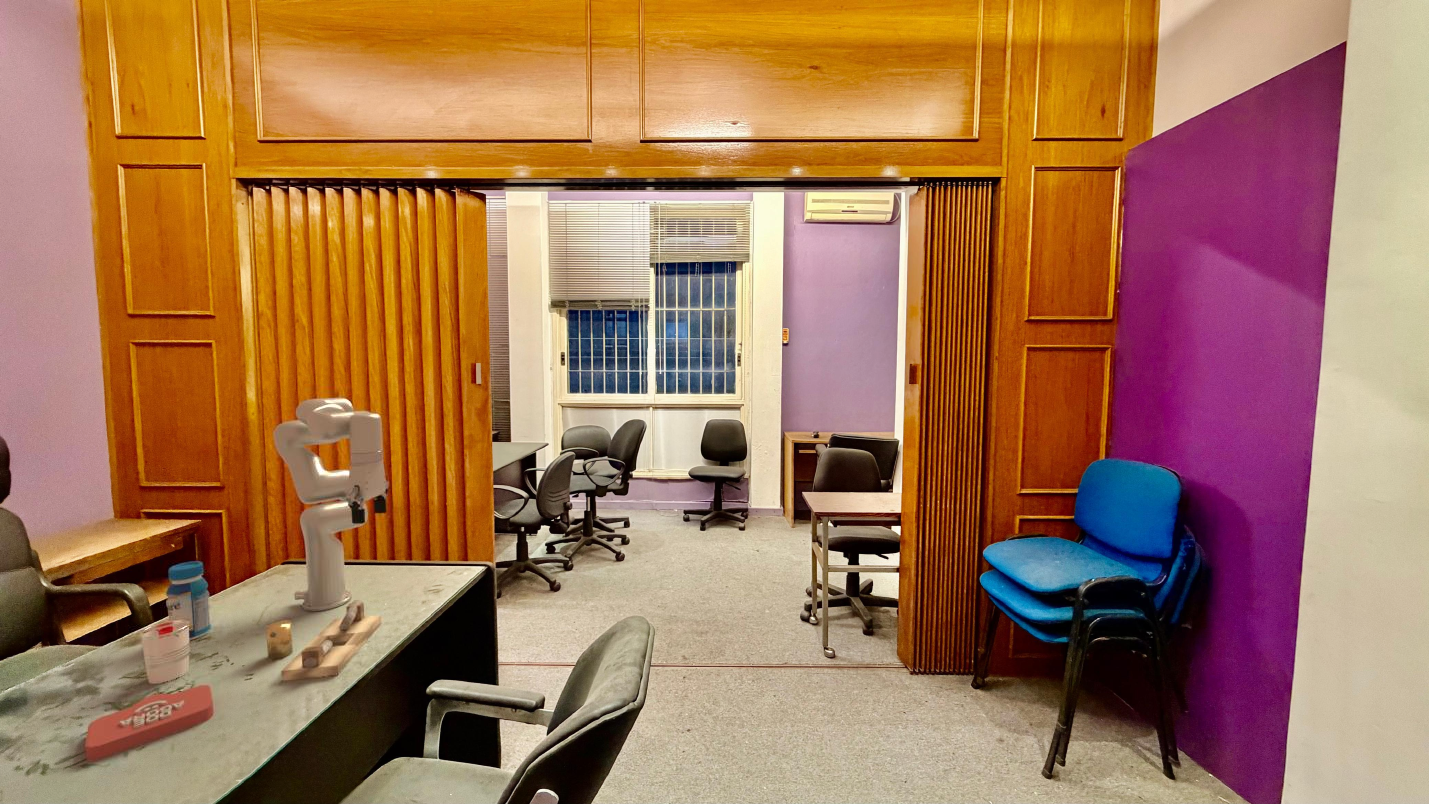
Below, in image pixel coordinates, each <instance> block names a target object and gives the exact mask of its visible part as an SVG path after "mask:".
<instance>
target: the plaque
mask: <svg viewBox="0 0 1429 804" xmlns="http://www.w3.org/2000/svg"><path fill="white" fill-rule="evenodd" d="M214 711H215V710H214V701H213V696H212V689H211V686H210V685H208V684H201V685H198V686H194V687H192V688H188V689H185V690H182V691H179V692H178V691H177V692H174V693H160V694H159V693H157V694H152V695H149V696H148V697H145V698H144V699H142V700H141V701H139V702H137V703H135V704H134V705H133V706H131V707H127V708H125V709H122V710H119V711H116V712H113V713H109V714H107V715H104V716H100V717H98V718H96V719H95V720H92V722H91V721H90V723H89V725H88V726H87V733H86V738H85V744H84V749H85V756H86V760H87V761H89V762H96V761H99V760H103V759H105V758H108V757H111V756H114V755H116V754H119V753H121V752H125V751H126V750H131V749H133V748H136V747H138V745H139V746H141V745H140V744H142V745H144V744H147V743H150V742H153V741H154V740H158V739H161V738H163V737H167V736H169V735H172V734H175V733H177V732H180V731H183V730H186V729H188V728H193V727H194V726H198V725H201V724H202V723H203V724H204V723H205V722H207V721H209V720H210V719H211V718H213V716H214V715H215V713H214ZM146 742H147V743H146ZM135 746H136V747H135ZM132 747H133V748H132Z"/></svg>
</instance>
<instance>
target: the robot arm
mask: <svg viewBox="0 0 1429 804" xmlns="http://www.w3.org/2000/svg"><path fill="white" fill-rule="evenodd" d="M295 416H296V418H297V419H295V420H290V421H285V422H282V423H280V424H278V425H276V427H275V429H274V430H273V442H274V446H275V448H276V451H277V453H278V455H279V456H280V457H281V458H282V460H283V461H284V463H285V464H286V466H287V467H288V469H289V472H290V475H291V478H292V482H293V485H294V488H295V492H296V494H297V496H298V498H299V500H300V502H302V503H303V504H306V505H313V506H310V507H308V508H306V509H305V510H304V511H303V512H301V514H300V518H299V523H300V527H301V531H302V532H301V533H302V535H303V539H304V541H303V542H304V547H305V548H304V549H305V560H306V561H305V562H306V563H305V565H306V579H307V580H306V581H307V582H306V583H307V589H306V590H296V591H295V592H294V594H293V595H294V596H293V597H294V600H295V601H298V600H304V601H303V602H302V604H301V607H302V609H303V610H304V611H308V612H319V611H326V610H331V609H335V608H337V607H341V606H343V605H344V604H347V603H348V602H349V601H350V600H351V599H352V593H351V591H348V590H346V574H345V557H344V555H345V553H344V545H343V543H342V541H341V540H340V539H338V537H335V535H334V534H336V533H338V532H342V531H348V530H353V529H355V528H358V527H362V526H363V525H365V524H366V523H367V521H368V518H369V517H368V516H369V513H368V507H367V504H366V501H369V500H372V499H373V509H374V512H373V513H374V514H386V513H387V512H388V511H387V498H388V491H389V485H390V481H387V480H386V472H385V466H384V450H383V449H384V448H383V426H382V424H383V422H382V417H381V415H379V414H378V413H372V412H370V411H368V410H356V411H354V407H353V404H352V403H351V401H349V399H346V398H344V397H331V398H328V397H327V398H326V397H325V398H313V399H311V398H310V399H306V400H304V401H302V402H301V403H300V404H298V406H297V407H296V410H295ZM343 439H345V440H346V439H349V444H350V446H349V448H350V449H349V451H350V465H349V469H335V470H330V471H329V470H326V469H325V467H324V464H323V461H322V459H321V458H320V456H318V455H317V454H316V453H315V452H313V451H311V450H310V449H308V448H306V447H307V446H315V445H316V446H318V445H325V444H334V443H336V442H339V441H340V440H343ZM305 446H306V447H305ZM335 500H338V501H335ZM330 501H331V502H330ZM325 502H326V503H325ZM314 504H317V505H314Z"/></svg>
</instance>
